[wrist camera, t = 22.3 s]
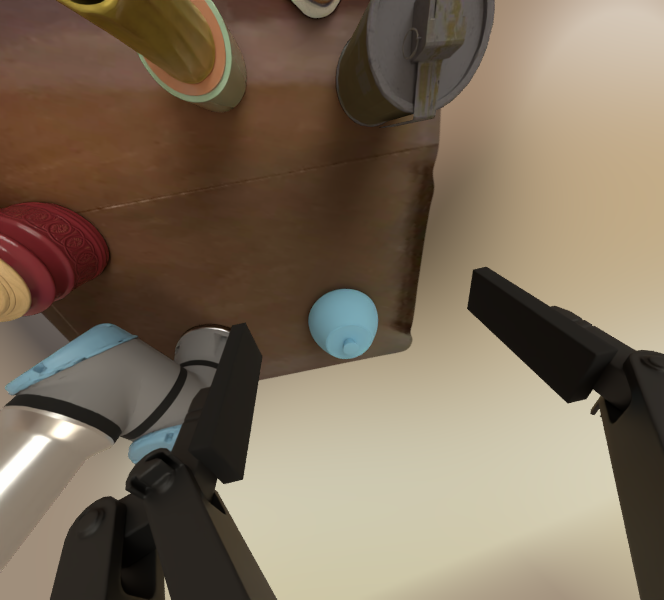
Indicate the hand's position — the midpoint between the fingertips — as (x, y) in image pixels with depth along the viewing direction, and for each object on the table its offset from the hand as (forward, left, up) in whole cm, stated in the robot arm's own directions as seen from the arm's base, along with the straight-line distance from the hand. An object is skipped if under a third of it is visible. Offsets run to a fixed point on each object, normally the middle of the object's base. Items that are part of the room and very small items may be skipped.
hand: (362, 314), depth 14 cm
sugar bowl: (0, -24, -33) cm, 41 cm away
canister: (+11, +14, -33) cm, 37 cm away
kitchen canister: (-42, +3, -33) cm, 53 cm away
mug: (-10, +21, -33) cm, 40 cm away
